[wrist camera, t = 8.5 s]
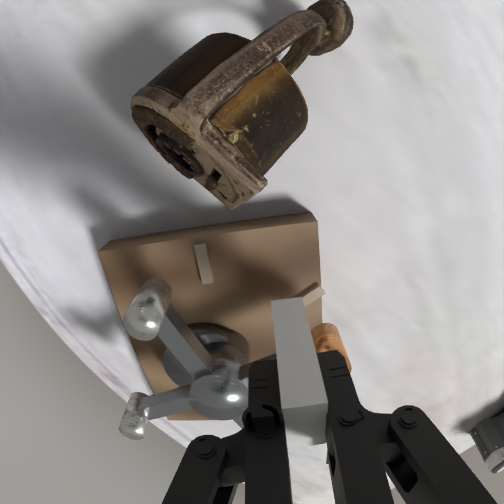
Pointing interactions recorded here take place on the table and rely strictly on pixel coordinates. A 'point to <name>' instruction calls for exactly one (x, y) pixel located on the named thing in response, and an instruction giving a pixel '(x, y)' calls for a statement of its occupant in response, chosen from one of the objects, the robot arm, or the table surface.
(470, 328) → the table surface
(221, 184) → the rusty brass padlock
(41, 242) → the table surface
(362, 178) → the table surface
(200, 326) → the grey star handwheel
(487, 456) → the camera
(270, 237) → the stand board
